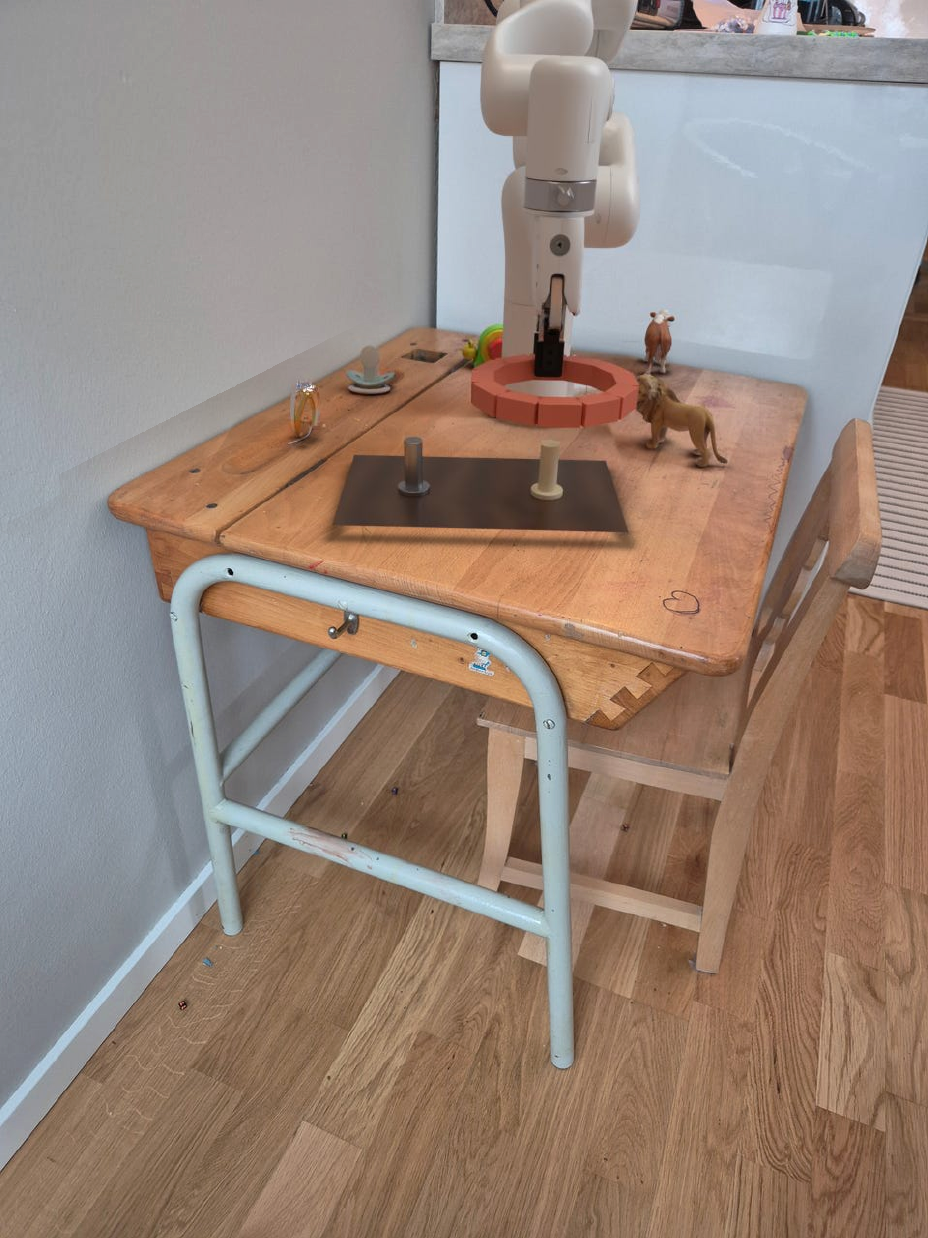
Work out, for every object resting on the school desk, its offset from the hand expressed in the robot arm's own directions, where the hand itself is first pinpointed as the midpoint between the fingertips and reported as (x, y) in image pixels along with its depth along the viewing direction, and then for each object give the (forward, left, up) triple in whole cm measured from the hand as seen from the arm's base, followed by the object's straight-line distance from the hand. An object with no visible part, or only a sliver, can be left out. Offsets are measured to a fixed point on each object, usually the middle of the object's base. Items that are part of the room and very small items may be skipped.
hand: (546, 370), depth 100 cm
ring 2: (+3, +7, -1) cm, 8 cm away
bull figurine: (-38, -31, -12) cm, 50 cm away
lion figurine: (-19, +1, -12) cm, 22 cm away
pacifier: (+10, -36, -12) cm, 39 cm away
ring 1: (+24, -19, -12) cm, 33 cm away
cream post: (+4, +10, -11) cm, 15 cm away
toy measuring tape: (-17, -39, -12) cm, 44 cm away
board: (+11, +6, -12) cm, 17 cm away
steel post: (+18, +3, -11) cm, 21 cm away
